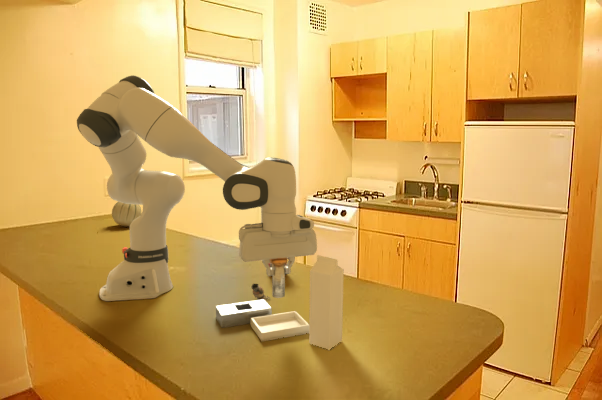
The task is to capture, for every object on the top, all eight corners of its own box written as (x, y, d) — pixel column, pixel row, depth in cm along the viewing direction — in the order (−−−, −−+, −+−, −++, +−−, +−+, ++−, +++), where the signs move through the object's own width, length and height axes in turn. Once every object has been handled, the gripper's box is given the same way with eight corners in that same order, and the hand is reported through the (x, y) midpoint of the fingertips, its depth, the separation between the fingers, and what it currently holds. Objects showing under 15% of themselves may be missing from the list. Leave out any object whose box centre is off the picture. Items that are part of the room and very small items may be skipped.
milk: (322, 335, 119) (323, 252, 116) (342, 342, 116) (344, 256, 112) (308, 344, 114) (309, 257, 111) (329, 351, 111) (330, 261, 107)
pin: (273, 299, 118) (273, 261, 116) (267, 293, 122) (267, 257, 120) (289, 297, 119) (289, 259, 118) (283, 291, 123) (283, 255, 122)
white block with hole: (221, 327, 123) (221, 315, 123) (216, 317, 129) (215, 305, 129) (271, 319, 128) (271, 307, 128) (263, 310, 135) (263, 299, 134)
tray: (261, 341, 115) (261, 333, 115) (250, 325, 125) (250, 317, 124) (309, 333, 120) (309, 325, 120) (295, 318, 129) (295, 310, 129)
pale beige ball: (106, 228, 241) (105, 200, 238) (122, 222, 255) (120, 195, 253) (133, 229, 238) (131, 201, 236) (147, 224, 253) (145, 196, 250)
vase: (260, 305, 139) (258, 286, 138) (246, 303, 142) (244, 284, 141) (271, 299, 143) (269, 281, 143) (257, 297, 146) (255, 279, 145)
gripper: (242, 227, 111) (242, 282, 113) (319, 221, 118) (319, 273, 121) (235, 222, 117) (236, 275, 119) (310, 217, 124) (309, 266, 126)
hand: (278, 274), depth 120 cm, fingers closed on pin, 3 cm apart
